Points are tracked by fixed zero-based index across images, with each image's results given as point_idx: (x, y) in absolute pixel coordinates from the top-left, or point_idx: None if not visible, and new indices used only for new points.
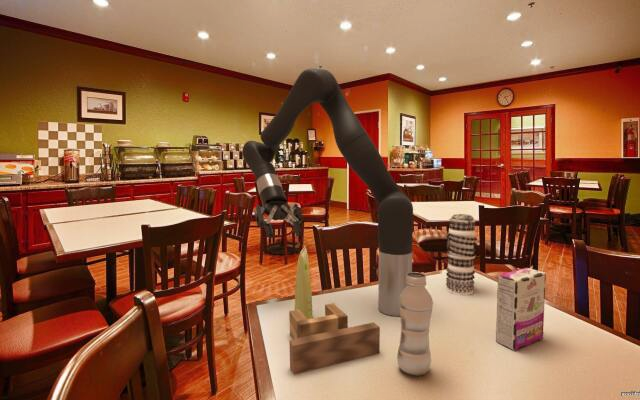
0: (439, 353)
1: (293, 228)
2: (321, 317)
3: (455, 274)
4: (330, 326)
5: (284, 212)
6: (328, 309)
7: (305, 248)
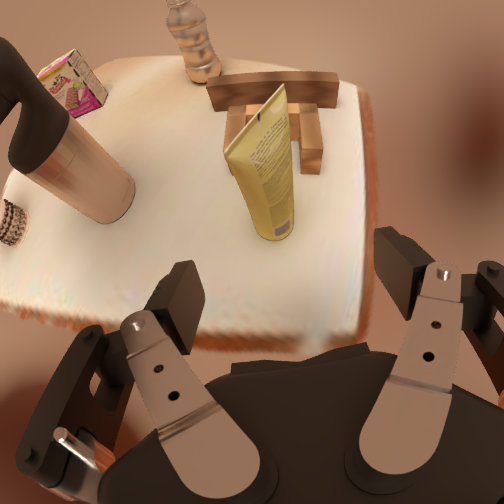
0: (161, 94)
1: (193, 338)
2: None
3: (8, 208)
4: None
5: (226, 408)
6: None
7: (232, 148)
